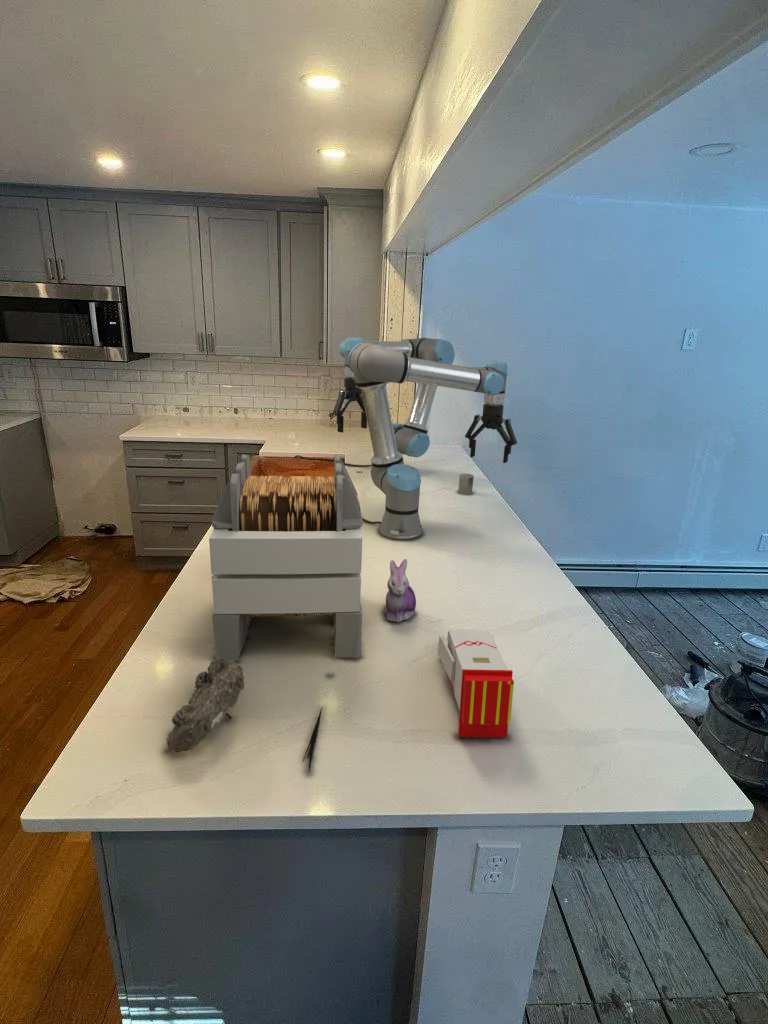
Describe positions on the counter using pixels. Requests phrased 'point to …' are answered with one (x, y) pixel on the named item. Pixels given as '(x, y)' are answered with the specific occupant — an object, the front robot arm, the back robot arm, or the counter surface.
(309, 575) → the record crate
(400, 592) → the figurine
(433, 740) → the counter surface
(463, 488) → the can
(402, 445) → the back robot arm
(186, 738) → the fossil
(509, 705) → the toy
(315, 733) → the feather
